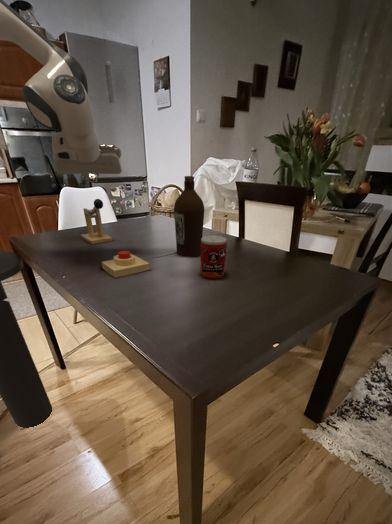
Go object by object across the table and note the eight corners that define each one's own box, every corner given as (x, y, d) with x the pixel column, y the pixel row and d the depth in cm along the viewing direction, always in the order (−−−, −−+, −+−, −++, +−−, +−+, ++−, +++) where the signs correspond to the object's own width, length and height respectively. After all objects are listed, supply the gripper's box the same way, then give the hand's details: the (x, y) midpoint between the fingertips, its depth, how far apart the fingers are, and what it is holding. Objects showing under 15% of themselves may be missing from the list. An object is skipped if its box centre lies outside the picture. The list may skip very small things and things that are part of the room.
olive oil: (194, 247, 113) (195, 174, 98) (208, 255, 105) (211, 177, 91) (170, 251, 109) (167, 175, 94) (182, 259, 101) (181, 178, 86)
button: (121, 260, 88) (121, 255, 87) (116, 257, 90) (116, 252, 89) (132, 258, 90) (131, 253, 89) (127, 255, 92) (126, 250, 91)
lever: (105, 206, 106) (102, 197, 105) (96, 207, 104) (93, 197, 104) (96, 218, 117) (93, 210, 116) (88, 219, 115) (85, 211, 115)
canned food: (199, 279, 86) (200, 242, 80) (200, 269, 93) (201, 234, 86) (224, 280, 86) (227, 243, 80) (223, 270, 93) (226, 235, 86)
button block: (115, 277, 86) (113, 265, 84) (102, 268, 92) (100, 256, 90) (149, 269, 92) (148, 257, 90) (135, 261, 98) (134, 249, 96)
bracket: (112, 240, 119) (107, 210, 112) (91, 244, 114) (85, 212, 108) (101, 234, 127) (96, 205, 120) (81, 237, 122) (75, 207, 115)
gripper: (119, 136, 85) (123, 172, 98) (46, 134, 81) (60, 171, 95) (121, 155, 84) (125, 188, 97) (47, 153, 80) (62, 188, 94)
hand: (92, 180), depth 96 cm, fingers closed
